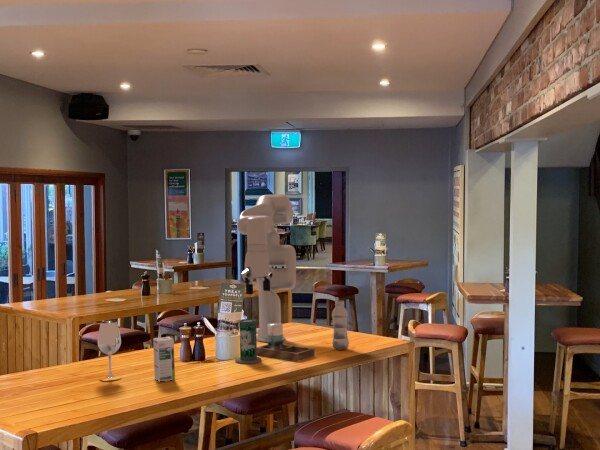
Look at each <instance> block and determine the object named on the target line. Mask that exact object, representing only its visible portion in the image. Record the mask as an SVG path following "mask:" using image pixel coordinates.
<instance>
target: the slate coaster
mask: <svg viewBox="0 0 600 450" xmlns="http://www.w3.org/2000/svg"><path fill="white" fill-rule="evenodd" d="M234 361H235V363H236V364H242V365H252V364H258V363H261V362H262V358H261V357H260V356H259V357H258V356H257V359H256V360H253V361H243V360H240V357H237V358H235V360H234Z"/></svg>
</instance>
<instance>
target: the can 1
mask: <svg viewBox="0 0 600 450" xmlns="http://www.w3.org/2000/svg"><path fill="white" fill-rule="evenodd" d="M256 329H257V319H254V318H244V319H240V320H239V353H240V354H239V356H240V357H239V358H240V360H243V361H253V360H256V359H257V357H258V355H257V347H258V346H257V342H258V341H257V339H256V337H257V334H256Z"/></svg>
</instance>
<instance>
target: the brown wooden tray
mask: <svg viewBox="0 0 600 450" xmlns="http://www.w3.org/2000/svg"><path fill="white" fill-rule="evenodd" d="M315 349H316V348H314V347H306V346H298V345H291V344H286V343H285V344H284V343H283V348H282V349H278V350H274V349H268V343H267V344H265V345H261V346H257V356H259V357H265V358H266V357H268V358H273V359H279V360H280V359H281V360H285V361H291V362H296V363H297V362H301V361H303V360H307V359H311V358H314V357H315V355H316V353H315V352H316V350H315Z"/></svg>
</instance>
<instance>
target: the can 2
mask: <svg viewBox="0 0 600 450" xmlns="http://www.w3.org/2000/svg"><path fill="white" fill-rule="evenodd" d="M283 326H284V324H283V323H282V322H281V323H270V324H268V342H267V344H268V349H274V350H278V349H282V348H283V344H284V340H283V336H284V334H283V332H284V330H283Z"/></svg>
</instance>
